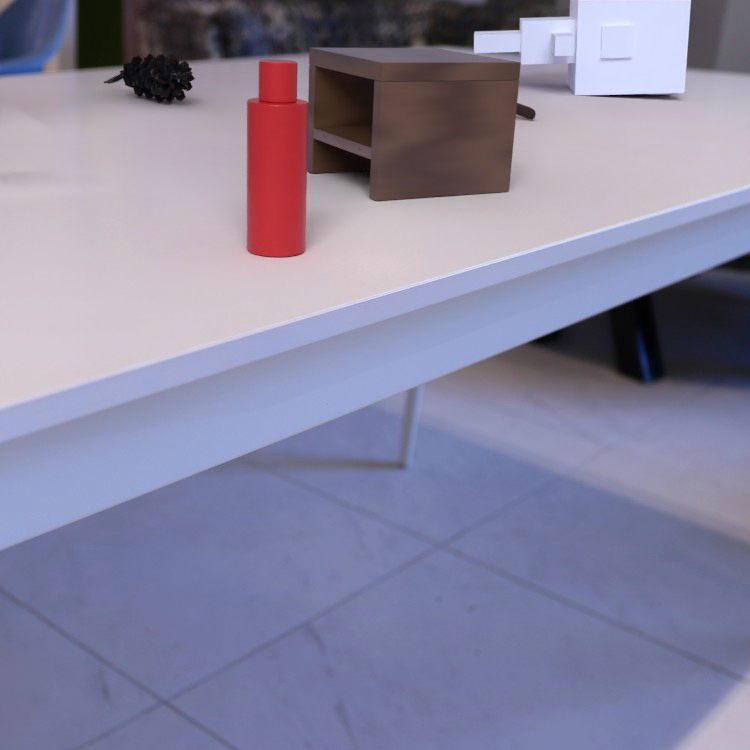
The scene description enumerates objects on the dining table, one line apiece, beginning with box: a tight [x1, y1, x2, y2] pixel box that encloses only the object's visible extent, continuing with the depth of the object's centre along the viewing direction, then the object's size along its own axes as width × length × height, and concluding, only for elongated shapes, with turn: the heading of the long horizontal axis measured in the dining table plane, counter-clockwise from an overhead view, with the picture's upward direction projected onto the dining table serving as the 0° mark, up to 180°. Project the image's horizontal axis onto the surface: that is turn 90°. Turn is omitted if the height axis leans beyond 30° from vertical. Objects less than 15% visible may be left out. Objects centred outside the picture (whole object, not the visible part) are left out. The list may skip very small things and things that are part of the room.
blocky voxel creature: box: [473, 0, 692, 96], centre depth 142 cm, size 15×25×28 cm
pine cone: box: [103, 52, 196, 104], centre depth 114 cm, size 18×5×5 cm, turn 39°
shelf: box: [307, 47, 522, 202], centre depth 76 cm, size 11×11×9 cm
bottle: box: [246, 58, 308, 258], centre depth 56 cm, size 3×3×10 cm
